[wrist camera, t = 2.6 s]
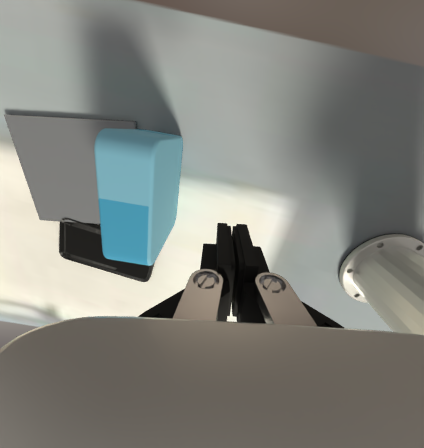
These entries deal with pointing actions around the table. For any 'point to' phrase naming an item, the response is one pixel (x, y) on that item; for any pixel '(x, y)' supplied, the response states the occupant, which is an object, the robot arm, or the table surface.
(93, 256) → the phone
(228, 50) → the table surface
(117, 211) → the data package
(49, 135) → the mat
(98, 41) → the table surface
